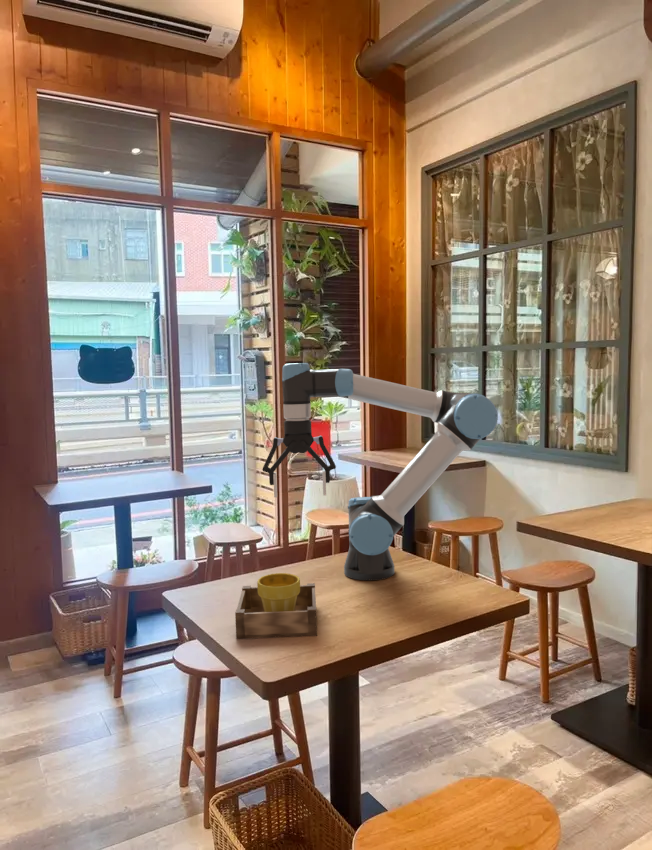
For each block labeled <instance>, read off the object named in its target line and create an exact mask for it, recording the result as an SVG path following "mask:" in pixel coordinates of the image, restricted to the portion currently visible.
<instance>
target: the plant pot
mask: <svg viewBox="0 0 652 850" xmlns="http://www.w3.org/2000/svg"><path fill="white" fill-rule="evenodd" d="M256 584H257V585H256V587H258V595H259V596H260V597H261V600H262V603H263V607H264V611H265V612H278V611H294V610H295V605H296V600H297V595H298V594H299V593H300V585H301V579H300V577H299V576H297V575H296V574H291V573H286V572H285V573H284V572H276V573H270V574H266V575H263V576H261V577H259V578H258V579H257V583H256Z"/></svg>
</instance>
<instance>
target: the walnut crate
mask: <svg viewBox="0 0 652 850" xmlns="http://www.w3.org/2000/svg"><path fill="white" fill-rule="evenodd" d="M241 590H242V591H241V593H240V597H239V601H238V604H237V606H236V607H237V608H236V609H235V611H234V612H235V613H234V615H235V637H236V640H238V639H239V640H243V639H247V640H248V639H265V638H266V639H267V638H289V637H293V638H294V637H297V638H298V637H315V636H316V637H317V636H318V623H317V622H318V620H317V604H316V603H317V601H316V596H317V595H316V583H315V582H314V583H313V582H312V583H306V584H305V585H303V584H300V593H299V594H298V595H297V600H296V605H295V610H294V611H278V612H265V611H264V607H263V603H262V600H261V597H260V596H259V595H258V587H257V586H251V585H242V587H241Z"/></svg>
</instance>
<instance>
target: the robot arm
mask: <svg viewBox="0 0 652 850" xmlns="http://www.w3.org/2000/svg"><path fill="white" fill-rule="evenodd" d="M281 371H282V374H281V376H282V378H281V379H282V380H281V382H282V385H281V386H282V397H283V398H282V402H283V403H282V405H283V419H285V420H284V421H283V431H284V433H283V435H284V436H283V437H282V438H281V437H280V438H279V437H276V436H275V437H274V438H273V440H272V442H273V443H272V447H271V449H270V451H269V453H268V455H267V457H266V460H265V463H264V464H263V466H262V469H261V470H262V472H264V473H268V475H269V485H270V486H273V498H277V497H278V484H277V483H278V482H277V481H278V479H277V472H275V471H276V470H277V469H278V467H279V466H280V465H281V463H283V461H284V460H285V459H286V457H287V456H288V455H289V454H290V453H291V454H298V453H299V454H305V453H307V452H308V453H309V455H310V456H312V458H313V459H314V460H315V461H316V462H317V463H318V464H319V465H320V466H321V467H322V468H323V470H322V496H327V484H329V483H331V476H330V474H331V473H330V472H331V471H332V470H335V469H336V468H337V465H336V463H335V461H334V459H333V458H332V456H331V454H330V452H329V450H328V449H327V447H326V445H325V441H324V438H323V437H324V436H323V435H319V436H314V437H313V434H312V433H313V432H312V430H313V429H312V420H311V419H310V418H311V417H312V408H311V407H312V404H311V402H312V401H311V399H312V398H326V397H327V398H331V397H334V398H335V397H336V398H337V397H339V398H343V399H344V398H345V399H349V400H353V401H356V402H362V403H365V404H370V405H374V406H378V407H382V408H387V409H392V410H396V411H400V412H405V413H409V414H414V415H417V416H421V417H426V418H430V419H431V421H432V422H433V423H437V431H436V432H435V433H434V434H433V435H432V436H431V438H430V439H429V440H428V441H427V442H426V444H424V445H423V447H422V448H421V449H420V450H419V451H418V453H417V454H416V455H415V456H413V458H412V459H411V460H410V461H409V463H408V464H407V465H406V466H405V467H404V468H403V469H402V470H401V471H400V473H399V474H398V475H397V476H396V477H395V478H394V480H393V481H391V483H390V484H389V485H388V486H387V488H385V490H384V491H383V492H382V493H381V494H380V495H371V496H360V497H359V496H357V497H351V498H349V500H348V505H347V509H348V541H349V543H348V544H349V548H348V551H347V555H346V558H345V562H344V566H343V573H344V575H345V576H346V577H348V578H350V579H352V580H353V579H354V580H359V581H379V580H384V579H388V578H391V577H392V576H394V575H395V563H394V560H393V557H392V555H391V551H390V546H391V545H392V543H393V540H394V536H395V535H396V534H397V533H398V532H399V531H400V530H401V528H403V526H404V525H405V515H406V514H407V513H408V512H409V511H410V510H411V509H412V508H413V506H414V505H415V504H416V503H417V502H418V501H419V500H420V499H421V497H422V496H423V495H425V493H426V492H427V490H429V488H430V487H431V486H432V485H433V484H434V483H435V482H436V481H437V479H439V478H440V476H441V475H442V474H443V473H444V472H445V471H446V469H448V467H449V466H450V465H451V464H452V463H453V462H454V460H455V459H456V458H457V457H458V456H459V455H460V454H461V453H462V452H464V451H466V452H467V451H471V450H472V449H473V448H474V447H475V446H476V445H477V443H479V441H480V440H481V439H484V438H485V437H488V436H489V435H490V434H491V433H492V432H493V431H494V430H495V428H496V426H497V424H498V420H499V419H498V418H499V417H498V410H497V408H496V405H495V404H494V403H493V401H492V400H491V399H489V398H488V397H486V396H485V395H483V394H481V393H476V392H473V393H472V392H454V391H447V390H441V389H440V390H439V391H437V392H436V391H431V390H427V389H422V388H418V387H414V386H409V385H404V384H400V383H396V382H391V381H387V380H383V379H379V378H373V377H369V376H365V375H360V374H355V373H354V372H353V369H350V368H330V369H327V368H326V369H311V367H310V364H309V363H308V362H299V363H298V362H296V363H294V362H293V363H285V364H284V365H283V366H282V370H281ZM314 442H315V443H316V444H317V445H319V446H320V449H321V451H322V452H323V454H324V457H325V458H326V460H327V461H328V464H327V463H326V462H325V461H324V460H323V459H322V458H321V457H320V456H319V455H318V454H317V452H316V451H315V450H314V449H313V448H312V447H311V446H312V445H313V443H314ZM282 443H283V445H284V446H285V447H286V448H285V449H284V450H283V452H281V454H280V455H279V457H278V458H277V460H276V461H275V462H274V463H273V464H272V466H271V467H269V466H270V464H271V462H272V460H273V458H274V455H275V453H276V451H277V449H278V447H280V446H281V444H282Z"/></svg>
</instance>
